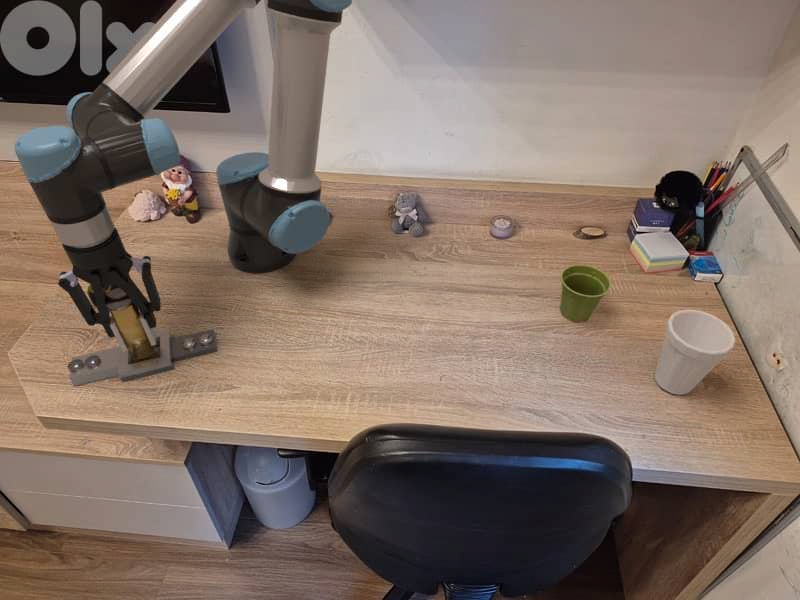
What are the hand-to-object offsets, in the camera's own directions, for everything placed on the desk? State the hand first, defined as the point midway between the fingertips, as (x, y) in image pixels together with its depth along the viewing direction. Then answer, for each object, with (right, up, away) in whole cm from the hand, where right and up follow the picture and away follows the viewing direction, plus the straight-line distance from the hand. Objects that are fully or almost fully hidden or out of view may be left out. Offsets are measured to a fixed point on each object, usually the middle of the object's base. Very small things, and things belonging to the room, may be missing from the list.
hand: (139, 342), depth 93 cm
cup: (+94, -7, 0) cm, 95 cm away
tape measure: (-13, +8, +16) cm, 22 cm away
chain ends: (0, -3, +3) cm, 4 cm away
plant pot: (+82, +5, +13) cm, 83 cm away
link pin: (0, -2, +1) cm, 2 cm away
